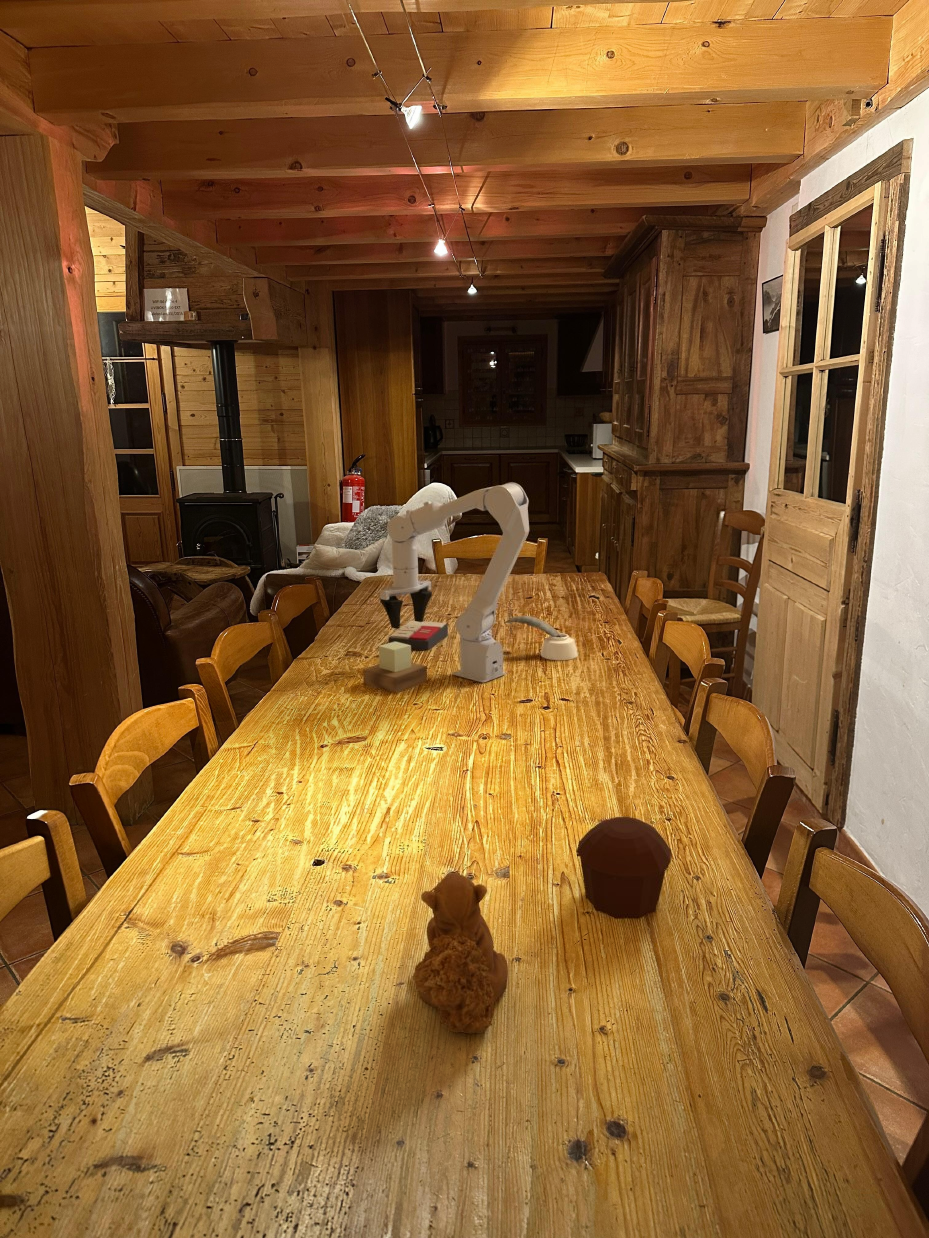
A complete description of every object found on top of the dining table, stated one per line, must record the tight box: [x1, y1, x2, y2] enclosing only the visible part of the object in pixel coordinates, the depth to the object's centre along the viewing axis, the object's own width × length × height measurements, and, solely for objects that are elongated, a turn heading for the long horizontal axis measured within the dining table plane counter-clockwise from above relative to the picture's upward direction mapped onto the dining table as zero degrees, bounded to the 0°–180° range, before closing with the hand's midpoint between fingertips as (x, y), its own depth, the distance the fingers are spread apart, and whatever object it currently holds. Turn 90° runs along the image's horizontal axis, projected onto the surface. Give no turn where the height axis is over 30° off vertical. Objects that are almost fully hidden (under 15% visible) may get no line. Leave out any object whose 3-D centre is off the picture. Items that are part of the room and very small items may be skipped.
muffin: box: [576, 816, 672, 920], centre depth 102 cm, size 12×11×10 cm
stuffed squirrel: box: [411, 872, 509, 1035], centre depth 84 cm, size 10×14×13 cm
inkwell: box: [504, 615, 579, 661], centre depth 204 cm, size 9×18×10 cm, turn 90°
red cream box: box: [388, 620, 449, 652], centre depth 219 cm, size 11×4×15 cm
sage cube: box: [378, 642, 412, 672], centre depth 185 cm, size 5×5×5 cm
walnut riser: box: [362, 662, 428, 694], centre depth 186 cm, size 10×10×4 cm
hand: (407, 624), depth 195 cm, fingers open, 7 cm apart
